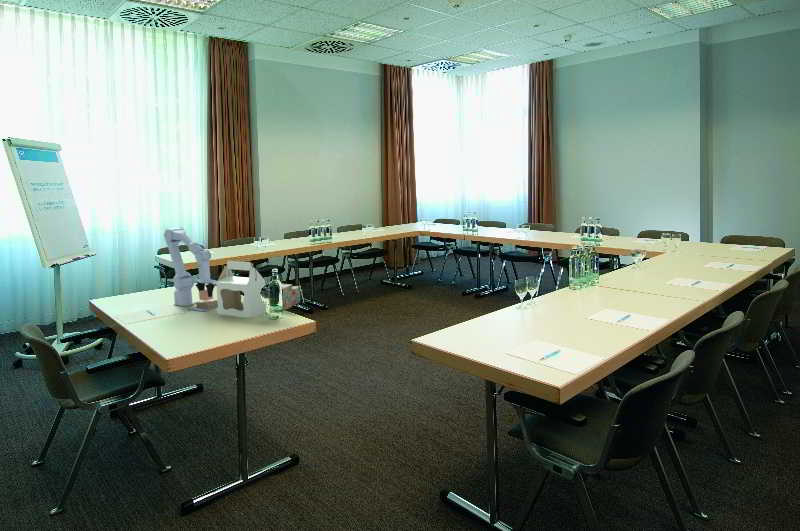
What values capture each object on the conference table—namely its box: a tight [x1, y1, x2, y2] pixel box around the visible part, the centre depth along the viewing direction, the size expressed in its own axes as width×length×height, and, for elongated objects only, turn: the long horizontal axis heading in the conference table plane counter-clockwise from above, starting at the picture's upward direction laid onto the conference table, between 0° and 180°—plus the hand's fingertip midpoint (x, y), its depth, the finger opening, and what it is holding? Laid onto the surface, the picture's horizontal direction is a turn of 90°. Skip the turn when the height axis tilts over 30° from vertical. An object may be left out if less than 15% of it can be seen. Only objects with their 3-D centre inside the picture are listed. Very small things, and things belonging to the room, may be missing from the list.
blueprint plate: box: [188, 299, 218, 313], centre depth 300 cm, size 12×16×4 cm
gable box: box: [215, 260, 267, 319], centre depth 283 cm, size 22×13×28 cm, turn 63°
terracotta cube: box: [198, 288, 214, 301], centre depth 299 cm, size 5×5×5 cm
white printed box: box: [281, 283, 301, 311], centre depth 298 cm, size 21×6×12 cm, turn 165°
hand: (206, 296), depth 299 cm, fingers closed on terracotta cube, 5 cm apart
